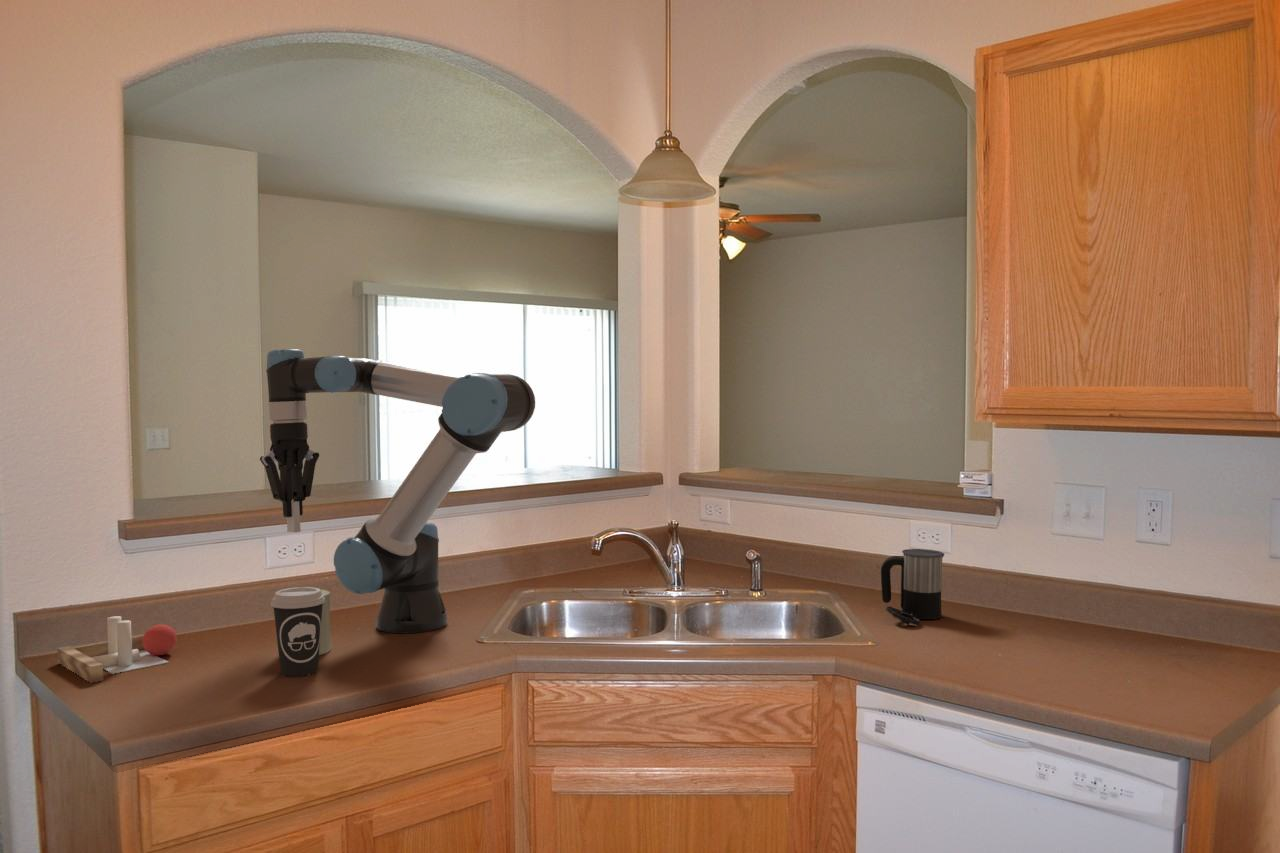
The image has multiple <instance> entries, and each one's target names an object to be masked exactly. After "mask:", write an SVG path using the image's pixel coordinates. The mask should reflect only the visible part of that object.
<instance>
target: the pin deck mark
mask: <svg viewBox="0 0 1280 853" xmlns="http://www.w3.org/2000/svg"><path fill="white" fill-rule="evenodd" d="M139 653H140V660H139V661H134V662H133V665H132V666H129V667H118V665H114V666H108V667H103V669H104V670H103V671H105V670H106V671H105V672H107V671H108V672H107V673H109V674H111V675H116V674H120V672H121V673H124V672H130V671H135V670H140V669H145V668H150V667H155V666H160V665H164V664H165V665H166V664H169V661H168V660H166V659H164V658H162V657H160V656H156V655H152V654H150V653H148V652H147V651H146V650H143V651H139ZM115 673H116V674H115Z"/></svg>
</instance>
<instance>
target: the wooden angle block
mask: <svg viewBox="0 0 1280 853" xmlns="http://www.w3.org/2000/svg"><path fill="white" fill-rule="evenodd" d="M144 634H145V633H142V634H141V633H140V634H136V635H132V650H133V649H138V650H139V651H141V650H145V649H144V647H143V636H144ZM145 651H146V650H145ZM107 654H108V639H107V640H103V641H98V642H92V643H86V644H81V645H75V646H74V645H73V646H70V645H69V646H63V647H57V664H58V663H59V664H61V665H62V666H61V665H60V666H61V667H63V666H64V667H66V668H67V669H66V668H65V669H66V670H68V669H69V670H71V671H72V672H71V671H70V672H71V673H73V672H74V673H73V674H75V673H76V674H77V675H76V674H75V675H76V676H78V675H79V676H78V677H80V678H81V677H82V678H81V679H83V678H84V679H83V680H84V681H86V680H87V682H88V681H89V682H88V683H90V684H93V682H95V683H98V682H99V681H100V682H103V681H104V670H103V664H102V663H100V662H98V661H96V660H94V659H92V658H91V657H96V656H101V655H107ZM59 664H58V665H59ZM64 667H63V668H64ZM69 670H68V671H69Z"/></svg>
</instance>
